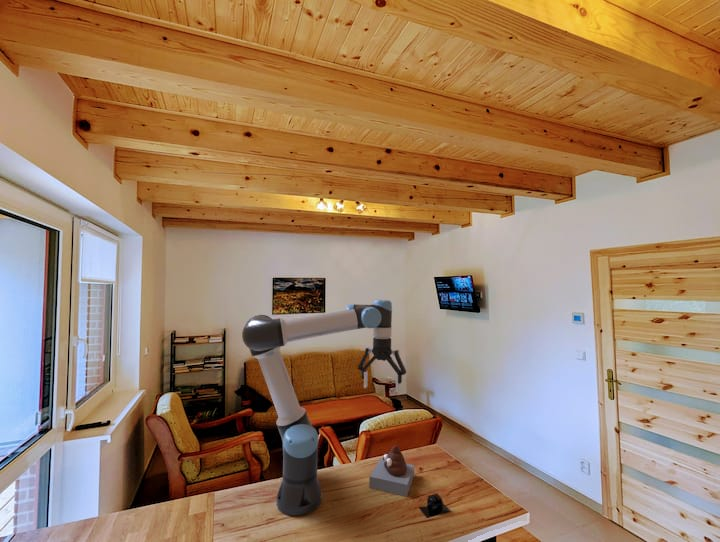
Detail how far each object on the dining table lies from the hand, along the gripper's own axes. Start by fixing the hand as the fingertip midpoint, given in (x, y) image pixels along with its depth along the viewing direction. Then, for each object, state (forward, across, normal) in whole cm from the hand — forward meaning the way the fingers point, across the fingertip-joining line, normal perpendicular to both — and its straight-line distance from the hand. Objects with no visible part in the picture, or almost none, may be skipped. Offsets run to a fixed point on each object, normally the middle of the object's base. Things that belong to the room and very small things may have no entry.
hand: (381, 389), depth 136 cm
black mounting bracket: (+32, -24, +17) cm, 44 cm away
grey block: (+32, -7, +7) cm, 33 cm away
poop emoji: (+28, -8, +6) cm, 30 cm away
